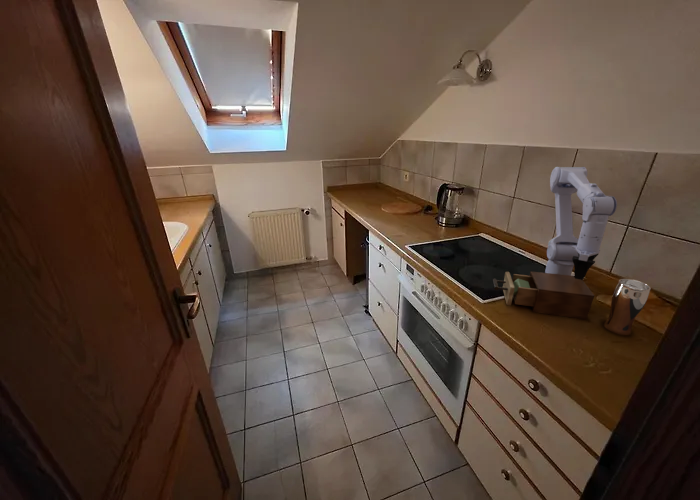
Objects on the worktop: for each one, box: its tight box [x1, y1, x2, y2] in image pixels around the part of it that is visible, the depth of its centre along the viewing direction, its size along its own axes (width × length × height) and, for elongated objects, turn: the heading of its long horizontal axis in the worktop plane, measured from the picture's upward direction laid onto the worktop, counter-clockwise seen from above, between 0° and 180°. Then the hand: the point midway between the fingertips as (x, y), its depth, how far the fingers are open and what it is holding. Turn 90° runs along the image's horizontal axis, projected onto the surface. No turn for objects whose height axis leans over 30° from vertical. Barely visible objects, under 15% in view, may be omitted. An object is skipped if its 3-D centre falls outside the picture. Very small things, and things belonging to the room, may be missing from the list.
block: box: [513, 279, 530, 295], centre depth 101 cm, size 4×4×4 cm
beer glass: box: [603, 278, 652, 336], centre depth 85 cm, size 7×7×15 cm
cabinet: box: [529, 271, 595, 320], centre depth 98 cm, size 15×13×9 cm
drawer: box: [492, 271, 538, 307], centre depth 101 cm, size 18×11×7 cm, turn 72°
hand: (580, 275), depth 97 cm, fingers open, 7 cm apart
